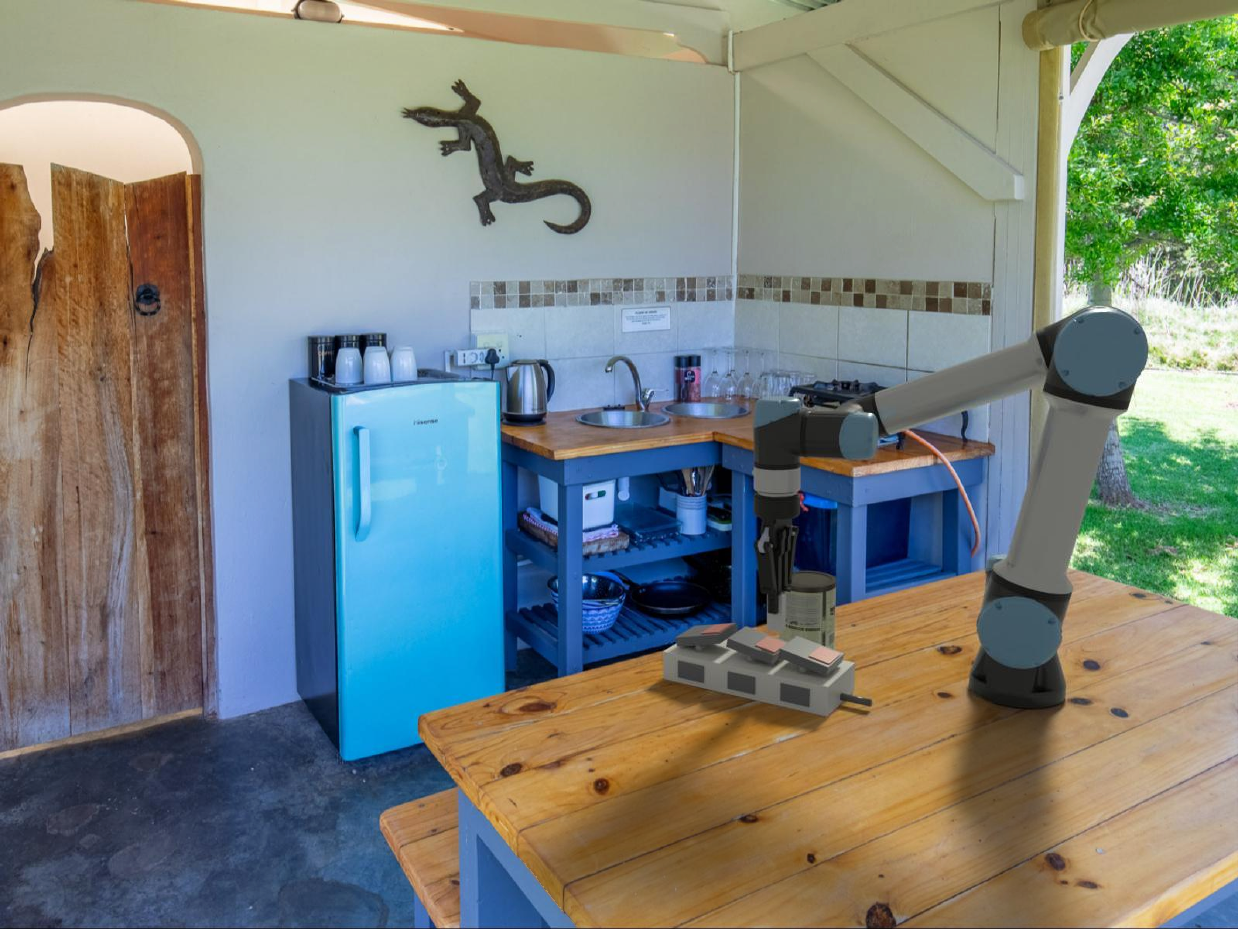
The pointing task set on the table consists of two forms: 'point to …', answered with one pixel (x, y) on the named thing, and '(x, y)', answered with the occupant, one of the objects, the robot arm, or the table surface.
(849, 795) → the table surface
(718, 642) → the rocker
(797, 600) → the coffee can
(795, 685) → the power strip
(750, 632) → the rocker
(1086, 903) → the table surface
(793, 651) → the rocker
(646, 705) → the table surface
